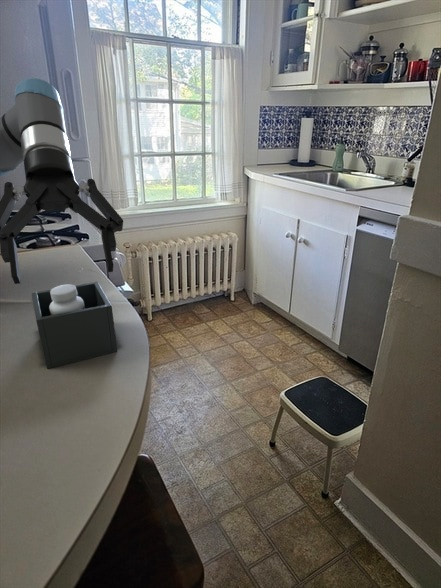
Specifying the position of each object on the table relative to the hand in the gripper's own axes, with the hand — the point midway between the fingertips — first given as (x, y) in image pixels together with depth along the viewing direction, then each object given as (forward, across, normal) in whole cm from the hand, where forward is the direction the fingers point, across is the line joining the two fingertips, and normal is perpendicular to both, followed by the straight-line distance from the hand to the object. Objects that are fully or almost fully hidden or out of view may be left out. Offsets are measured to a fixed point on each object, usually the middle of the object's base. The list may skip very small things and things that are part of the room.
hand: (65, 274), depth 60 cm
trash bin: (+8, 0, -11) cm, 14 cm away
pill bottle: (+8, 0, -11) cm, 13 cm away
